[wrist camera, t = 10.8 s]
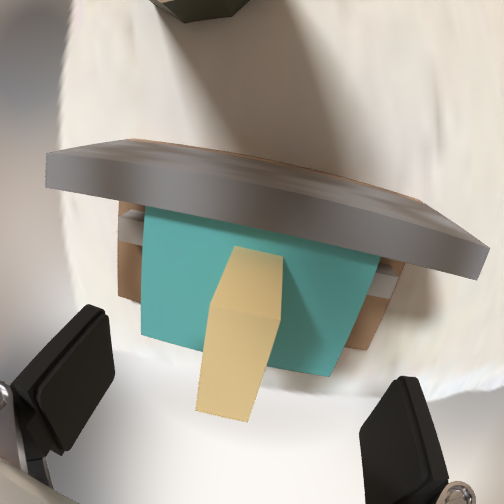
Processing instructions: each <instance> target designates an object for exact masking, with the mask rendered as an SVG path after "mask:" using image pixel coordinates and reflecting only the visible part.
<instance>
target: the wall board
mask: <svg viewBox="0 0 504 504" xmlns="http://www.w3.org/2000/svg"><path fill="white" fill-rule="evenodd" d="M45 186H46V188H52V189H57V190H63V191H69V192H74V193H80V194H86V195H91V196H97V197H102V198H108V199H113V200H118V201H119V214H118V296H120V297H123V298H127V299H130V300H133V301H137V302H140V303H141V273H142V249H143V232H144V218H145V206H150V207H155V208H160V209H165V210H171V211H176V212H181V213H186V214H191V215H196V216H201V217H205V218H210V219H215V220H220V221H225V222H230V223H234V224H239V225H244V226H249V227H253V228H258V229H263V230H267V231H272V232H276V233H281V234H286V235H290V236H295V237H299V238H304V239H308V240H312V241H317V242H321V243H326V244H330V245H334V246H339V247H343V248H347V249H352V250H356V251H360V252H364V253H369V254H373V255H377V256H381V258H380V261H379V264H378V266H377V269H376V272H375V274H374V277H373V280H372V282H371V285H370V287H369V290H368V292H367V295H366V297H365V300H364V302H363V305H362V307H361V309H360V312H359V314H358V316H357V319H356V321H355V323H354V326H353V328H352V330H351V332H350V335H349V337H348V339H347V341H346V343H345V346H344V347H347V348H354V349H361V350H367V349H368V347H369V345H370V343H371V340H372V338H373V336H374V334H375V332H376V330H377V328H378V326H379V324H380V322H381V319H382V317H383V315H384V313H385V310H386V308H387V306H388V304H389V301H390V299H391V297H392V294H393V292H394V290H395V287H396V285H397V282H398V280H399V277H400V275H401V272H402V270H403V267H404V265H405V262H406V263H410V264H414V265H418V266H422V267H426V268H430V269H434V270H438V271H442V272H446V273H450V274H454V275H458V276H462V277H465V278H469V279H473V280H477V279H478V277H479V274H480V272H481V270H482V267H483V265H484V263H485V260H486V258H487V255H488V252H489V250H490V248H489V247H488V246H486V245H485V244H484V243H482V242H481V241H480V240H478V239H477V238H475V237H474V236H473V235H471V234H470V233H468V232H467V231H465V230H464V229H463V228H461V227H460V226H458V225H457V224H455V223H454V222H452V221H451V220H449V219H448V218H446V217H445V216H443V215H442V214H440V213H439V212H437V211H436V210H434V209H433V208H431V207H429V206H428V205H426V204H425V203H423V202H421V201H420V200H418V199H415V198H412V197H409V196H405V195H402V194H399V193H396V192H393V191H389V190H386V189H383V188H379V187H376V186H372V185H369V184H365V183H362V182H358V181H355V180H351V179H347V178H343V177H340V176H336V175H332V174H328V173H324V172H320V171H316V170H312V169H307V168H303V167H299V166H294V165H290V164H285V163H281V162H276V161H271V160H267V159H262V158H257V157H252V156H246V155H241V154H236V153H230V152H224V151H219V150H213V149H207V148H200V147H194V146H187V145H180V144H173V143H165V142H157V141H149V140H140V139H126V140H119V141H112V142H105V143H98V144H92V145H86V146H81V147H75V148H70V149H65V150H60V151H55V152H50V153H47V154H46V183H45Z"/></svg>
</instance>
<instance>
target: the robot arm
mask: <svg viewBox="0 0 504 504" xmlns="http://www.w3.org/2000/svg"><path fill="white" fill-rule="evenodd" d="M114 368H115V367H114V360H113V353H112V344H111V335H110V325H109V317H108V316H107V315H105V311H104V310H103V309H101V308H98V307H95V306H93V305H90V304H87V305H86V306H84V307H83V308H82V309H81V310H80V311H79V312H78V313H77V314H76V315H75V316H74V317H73V318H72V319H71V320H70V321H69V322H68V323H67V325H66V326H64V328H63V329H62V330H61V331H60V332H59V333H58V334H57V335H56V336H55V337H54V338H53V339H52V340H51V341H50V342H49V343H48V344H47V345H46V346H45V347H44V348H43V349H42V350H41V352H39V353H38V355H37V356H36V357H35V358H34V359H33V360H32V361H31V362H30V363H29V364H28V366H27V367H26V368H25V369H24V370H23V371H22V372H21V373H20V374H19V376H18V377H17V378H16V379H15V380H14V381H13V382H12V383H11V385H10V386H9V385H8V384H6V383H5V382H4V381H1V380H0V504H79V503H77V502H75V501H73V500H71V499H69V498H68V497H66V496H64V495H62V494H60V493H58V492H57V491H55V490H54V488H53V484H52V481H51V477H50V472H49V468H48V464H47V460H46V456H47V454H48V452H49V451H50V450H52V451H53V452H55V453H57V454H59V455H60V456H62V455H63V453H64V451H69V450H70V449H71V448H72V446H73V444H74V443H75V441H76V439H77V438H78V436H79V434H80V433H81V431H82V429H83V428H84V426H85V425H86V423H87V421H88V419H89V418H90V416H91V415H92V413H93V411H94V410H95V408H96V407H97V405H98V404H99V402H100V400H101V399H102V397H103V396H104V394H105V392H106V391H107V389H108V388H109V386H110V385H111V383H112V381H113V379H114V376H115V369H114ZM359 439H360V447H361V457H362V466H363V477H364V489H365V502H366V504H476V497H475V494H474V491H473V490H472V489H471V487H470V486H469V485H467V484H466V483H464V482H461V481H454V482H451V483H448V479H449V476H448V472H447V468H446V465H445V461H444V457H443V454H442V450H441V447H440V443H439V440H438V437H437V433H436V430H435V427H434V424H433V421H432V418H431V415H430V412H429V409H428V406H427V403H426V400H425V397H424V394H423V392H422V389H421V386H420V383H419V381H418V379H417V378H416V377H407V376H400V377H398V379H397V380H394V381H393V382H392V383H391V385H390V386H389V388H388V389H387V391H386V392H385V394H384V395H383V397H382V398H381V400H380V401H379V403H378V404H377V406H376V407H375V408H374V410H373V411H372V413H371V414H370V416H369V417H368V418H367V420H366V421H365V422H364V424H363V425H362V427H361V429H360V432H359Z"/></svg>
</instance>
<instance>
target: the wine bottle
mask: <svg viewBox="0 0 504 504" xmlns="http://www.w3.org/2000/svg"><path fill="white" fill-rule="evenodd" d="M149 1H151V2H152V3H153V4H155V5H156V6H158V7H160V8H161V9H163V10H165V11H166V12H168V13H169V14H171V15H172V16H174V17H176V18H177V19H179V20H180V21H182V22H183V23H189V22H195V21H201V20H208V19H215V18H223V17H232V16H233V15H234V14H235V13H236V12H237V11H238V10H240V9H241V8H242V7H243V6H244V5H245V4H246V3H247V2H248V1H250V0H149Z"/></svg>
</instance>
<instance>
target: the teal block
mask: <svg viewBox="0 0 504 504" xmlns="http://www.w3.org/2000/svg"><path fill="white" fill-rule="evenodd" d="M380 258H381V256H377V255H373V254H369V253H364V252H360V251H356V250H352V249H347V248H343V247H339V246H334V245H330V244H326V243H321V242H317V241H312V240H308V239H304V238H299V237H295V236H290V235H286V234H281V233H276V232H272V231H267V230H263V229H258V228H253V227H249V226H244V225H239V224H234V223H230V222H225V221H220V220H215V219H210V218H205V217H201V216H196V215H191V214H186V213H181V212H176V211H171V210H165V209H160V208H155V207H150V206H145V218H144V232H143V249H142V273H141V335H144V336H148V337H151V338H154V339H158V340H161V341H165V342H168V343H172V344H175V345H179V346H182V347H186V348H190V349H194V350H198V351H202V352H203V356H202V363H201V370H200V378H199V387H198V394H197V402H196V411H199V412H203V413H207V414H211V415H216V416H220V417H225V418H229V419H234V420H239V421H243V422H248V419H249V416H250V413H251V410H252V407H253V405H254V402H255V399H256V396H257V393H258V390H259V387H260V384H261V381H262V378H263V375H264V372H265V368H266V366H269V367H274V368H279V369H285V370H290V371H296V372H302V373H308V374H314V375H321V376H328V377H330V375H331V373H332V371H333V369H334V367H335V365H336V363H337V360H338V358H339V356H340V354H341V352H342V350H343V348H344V346H345V343H346V341H347V339H348V337H349V335H350V332H351V330H352V328H353V326H354V323H355V321H356V319H357V316H358V314H359V312H360V309H361V307H362V305H363V302H364V300H365V297H366V295H367V292H368V290H369V287H370V285H371V282H372V280H373V277H374V274H375V272H376V269H377V266H378V264H379V261H380Z"/></svg>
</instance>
